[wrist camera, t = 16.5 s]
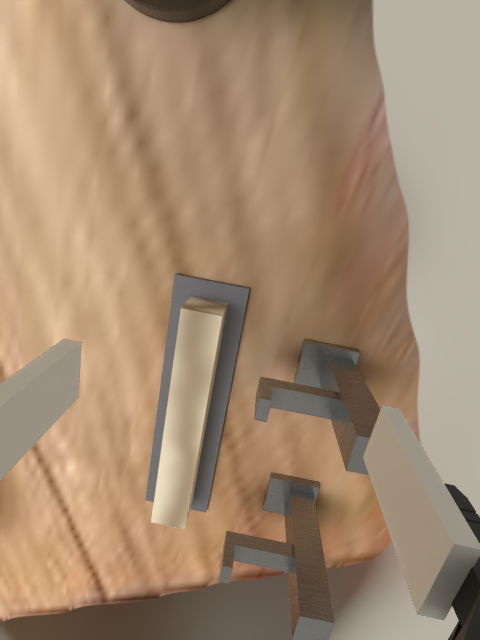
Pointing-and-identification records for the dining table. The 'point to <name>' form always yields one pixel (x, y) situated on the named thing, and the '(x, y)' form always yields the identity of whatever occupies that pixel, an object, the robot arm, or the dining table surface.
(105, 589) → the dining table surface
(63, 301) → the dining table surface
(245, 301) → the mat
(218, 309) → the rail
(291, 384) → the rack
